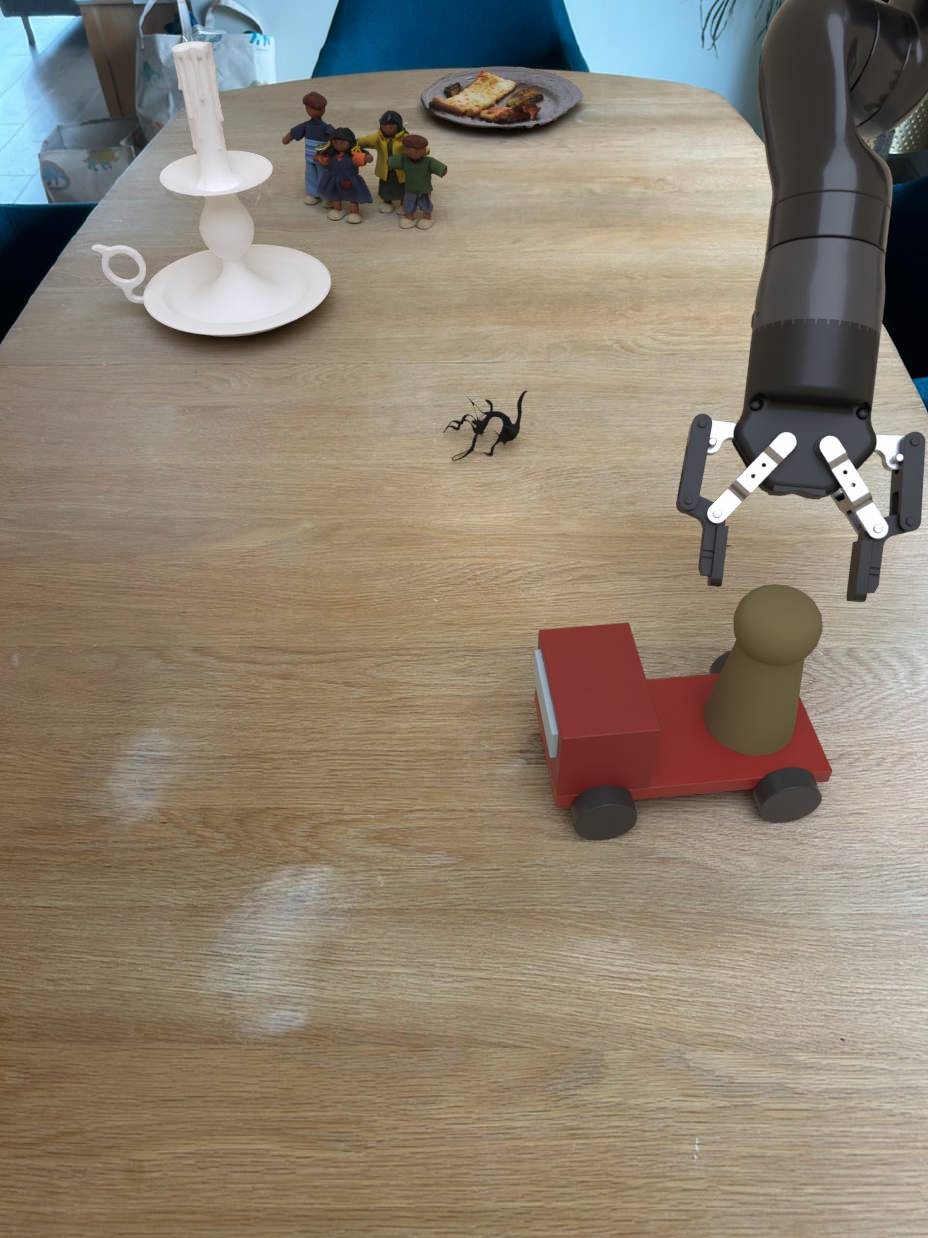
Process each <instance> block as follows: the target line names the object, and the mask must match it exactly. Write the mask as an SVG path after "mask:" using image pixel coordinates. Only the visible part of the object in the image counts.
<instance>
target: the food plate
mask: <svg viewBox="0 0 928 1238" xmlns="http://www.w3.org/2000/svg"><path fill="white" fill-rule="evenodd" d="M583 101H584V94H583V92H582V90H580V89H579V88H578V87H577V85H575V83H573V82H572V81H570V80H569V79H567V78H565V77H563V76H560V75H558V74H556V73H553V72H549V71H547V70H541V69H533V68H530V67H528V68H527V67H524V66H516V67H515V66H514V67H513V66H485V67H484V66H483V67H482V66H481V67H476V68H470V69H468V70H463V71H459V72H451V73H448V74H446V75H444V76H442V77H440V78H439V79H438V80H436V81H435V82H433V83H432V84H431V85H429V86H428V87H427V88H425V89H424V90H423V91H422V93H420V102H421V104H422V106H423V108H424V110H425V111H426V112H428V113H430V114H431V115H432V116H433V117H435V118H441V119H443V120H446V121H449V122H452V123H456V124H459V125H461V126H463V127H469V128H480V129H481V128H482V129H491V128H494V129H499V128H500V129H504V130H512V129H520V128H522V131H524V130H525V128H526V129H531V128H533V127H534V126H535V125H537V124H538V125H539V126H544V125H546V124H548V123H550V122H552V121H557V120H558V118H559V117H561V116H563V115H565V114H567V113H568V111H570V110H571V109H573V108H574V107H575V105H577V103H579V102H581V103H582V102H583ZM524 126H525V127H524Z"/></svg>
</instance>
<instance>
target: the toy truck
mask: <svg viewBox="0 0 928 1238" xmlns="http://www.w3.org/2000/svg"><path fill="white" fill-rule="evenodd" d="M537 637H538V638H537V639H538V640H537V649H534V653H533V669H532V673H533V674H532V675H533V680H534V684H535V685H534V686H535V689H534V705H535V710H536V715H537V719H538V725H539V730H540V734H541V740H542V746H543V751H544V757H545V759H546V761H545V762H546V766H547V771H548V776H549V781H550V786H551V791H552V796H553V802H554V807H555V808H562V807H570V810H571V816H572V820H573V825H574V829H575V831H576V833H577V834H578V835H579V836H580V837H582V838H584V839H587V840H592V841H602V840H603V841H606V840H611V839H614V838H618V837H620V836H623V835H624V834H626V833H628V832H629V831H630V830H632V829H633V828H634V827H635V826H636V824H637V822H638V813H637V809H636V806H635V805H636V804H635V802H634V801H638V800H648V799H658V798H659V799H661V798H669V797H679V796H680V797H681V796H691V795H699V794H700V795H702V794H712V793H722V792H723V793H724V792H734V791H743V790H744V791H745V790H752V795H753V798H754V801H755V804H756V807H757V809H758V812H759V815H760V816H761V818H763V819H764V820H765V821H768V822H771V823H781V824H782V823H789V822H790V823H791V822H794V821H797V820H800V819H803V818H805V817H806V816H809V815H810V814H812V813H814V812H815V811H816V810H817V809H818V808H819V806H820V805H821V803H822V799H823V796H822V793H821V790H820V788H819V785H818V783H828V782H830V781H829V780H830V778H831V776H832V774H833V769H832V767H831V764H830V762H829V760H828V758H827V755H826V753H825V751H824V748H823V746H822V743H821V741H820V739H819V737H818V734H817V732H816V730H815V728H814V725H813V723H812V721H811V719H810V716H809V714H808V712H807V710H806V707H805V705H804V703H803V700H802V697H801V696H800V695H799V701H798V708H797V715H796V722H795V729H794V733H793V736H792V738H791V741H790V742H789V743H788V744H787V745H786V746H785V747H784V748H783V749H781V750H779V751H777V752H775V753H773V754H768V755H761V756H753V755H745V754H741V753H738V752H735V751H733V750H730V749H728V748H726V747H725V746H723V745H722V744H720V743H719V742H718V741H716V740H715V738H714V737H713V736H712V735H711V734H710V733H709V731H708V730H707V727H706V725H705V722H704V720H703V709H704V706H705V704H706V702H707V700H708V698H709V696H710V694H711V691H712V689H713V687H714V685H715V683H716V681H717V679H718V677H719V675H720V673H721V671H722V668H723V666H724V664H725V662H726V660H727V658H728V656H729V654H730V652H731V650H728V651H726V652H724V653H722V654H721V655H718V657H717V658H715V659H714V661H713V662H712V663H711V665H710V668H709V673H708V674H707V673H706V674H695V675H685V676H673V677H661V678H648V679H647V677H646V675H645V671H644V667H643V664H642V661H641V657H640V654H639V651H638V647H637V644H636V641H635V638H634V635H633V632H632V627H631V625H630V622H618V623H617V622H616V623H606V624H593V625H581V626H569V627H557V628H556V627H555V628H545V629H539V630H538V636H537Z"/></svg>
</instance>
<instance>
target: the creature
mask: <svg viewBox="0 0 928 1238" xmlns="http://www.w3.org/2000/svg"><path fill="white" fill-rule="evenodd" d="M527 393H528V390H524V391H522V393H521V394H520V395H519V398H518V400H517V403H516V409H517V410H516V411H517V416H516V421H515V423H512V421H511V418H510V416H508V415H507V414H505V412H502V411H500V410H494V404H493V402H492V400H490V399H486V398H485V399H484V401H485V402H486V404H488V405H489V411H482V410H481V409H480V408H479V407H477V409H478V410H479V411H480V413H481V414H483V415H481V416H479V417H478V415H477V412H476V409H475V406H476V403H475V402H474V401H472V399H470V398H468V400H469V401H470V403H471V405H472V407H473V409H474V413H475V416H476V418H475V417H474V416H473V415H472V414H469V413H466V414H464V415H463V416H462V417H461V420H457V419H453V420H451V421H450V422H449V424H448V425H446V427H445V429H444V430H443V431H442V433H443V434H444V433H445V432H446V431H447V430H448V429H449V428H451V429H452V430H454V431H456V432H458V431H460V430H461V427H462V425H464V422H468V423H469V424H470V426H471V428H472V432H474V436H473V438H472V442H471V446H470V447H469V449H467V450H464V451H463V452H459V453H458V454H456V455H453V456H452V457H451V461H453V462H456V461H459V460H462V459H464V458H466V457H467V456H468V455H470V454H471V453H472V452H475V454H478V452H477V451H475V447H476V443H477V441H478V436H479V435H480V436H482V435H483V434H485V433H488V432H489V430H487V431H485V430H486V428H487V426H488V425H489V422H490V420H492V419H493V418H499V419H500V420H501V421H502V427H501V429H500V432H499V433H498V432H497V431H496V430H492V432H495V434H496V435H497V436H498V437H497V439H496V441H495V442H494V443H493V444H492V445H491V447H490V451H489V452H486V451H482V452H481V454H485V455H487V456H489V457H491V456H493V454H494V451H495V448H496V446H497V445H498V444H499V443H502V444H503V445H504V446H505V445H506V443H509V442H511V441H513V440H515V439H516V438H517V437H518V434H519V433H520V430H521V419H522V415H523V407H522V405H523V400H524V397H525V396H526V394H527ZM484 416H485V417H484ZM467 417H471V418H473V419H472V420H469V419H467ZM482 417H484V418H483V419H481V420H480V418H482ZM452 423H454V424H457V426H455V425H452ZM464 453H465V454H464ZM462 454H464V455H462ZM459 455H462V456H460V457H458V456H459ZM456 456H457V457H458V458H455V457H456ZM454 458H455V459H454Z"/></svg>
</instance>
